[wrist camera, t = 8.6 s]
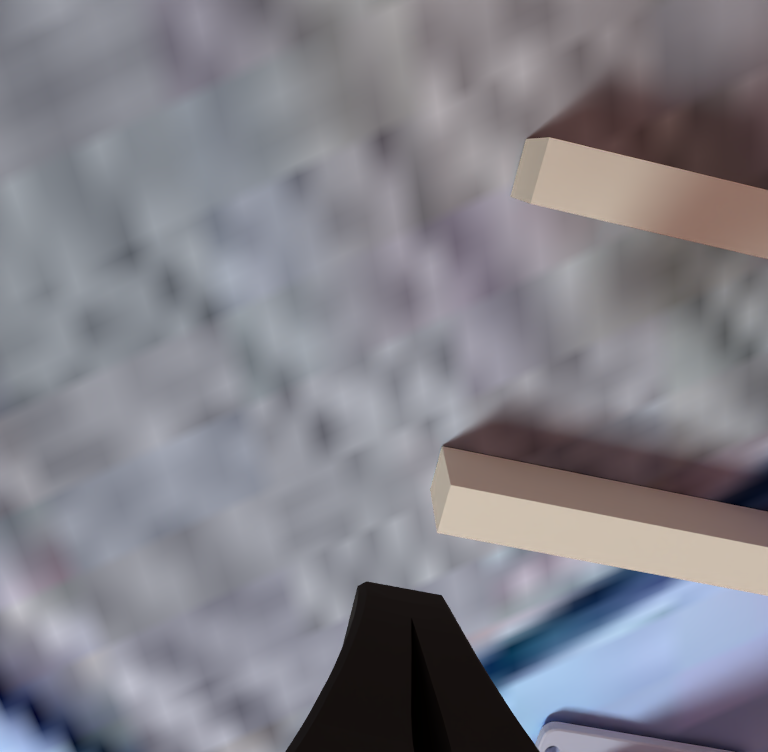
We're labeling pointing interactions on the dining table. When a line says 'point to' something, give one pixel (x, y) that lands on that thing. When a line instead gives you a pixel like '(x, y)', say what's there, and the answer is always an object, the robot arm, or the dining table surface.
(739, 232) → the lane
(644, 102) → the dining table surface
